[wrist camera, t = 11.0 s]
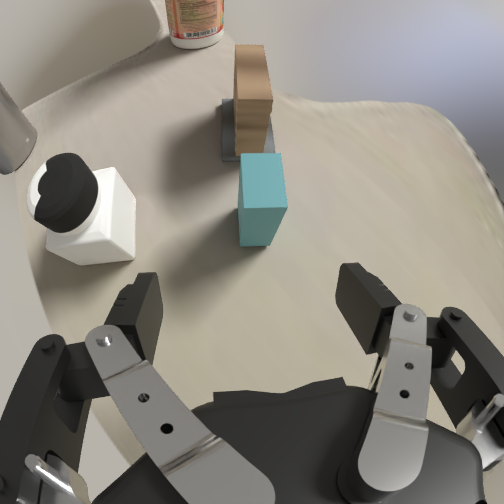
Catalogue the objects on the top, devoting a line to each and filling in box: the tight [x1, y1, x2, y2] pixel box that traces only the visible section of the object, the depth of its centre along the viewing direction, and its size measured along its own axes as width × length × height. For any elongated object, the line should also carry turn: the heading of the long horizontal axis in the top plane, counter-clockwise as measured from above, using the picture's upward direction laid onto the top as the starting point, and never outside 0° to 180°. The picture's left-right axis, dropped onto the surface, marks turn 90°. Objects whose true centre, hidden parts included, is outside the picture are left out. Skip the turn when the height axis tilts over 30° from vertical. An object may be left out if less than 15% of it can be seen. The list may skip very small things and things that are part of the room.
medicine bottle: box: [27, 153, 136, 266], centre depth 22 cm, size 7×7×12 cm
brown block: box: [222, 45, 275, 161], centre depth 27 cm, size 10×6×10 cm, turn 4°
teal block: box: [238, 153, 288, 247], centre depth 24 cm, size 4×3×10 cm, turn 4°
